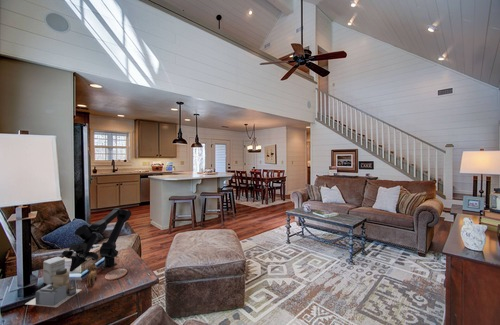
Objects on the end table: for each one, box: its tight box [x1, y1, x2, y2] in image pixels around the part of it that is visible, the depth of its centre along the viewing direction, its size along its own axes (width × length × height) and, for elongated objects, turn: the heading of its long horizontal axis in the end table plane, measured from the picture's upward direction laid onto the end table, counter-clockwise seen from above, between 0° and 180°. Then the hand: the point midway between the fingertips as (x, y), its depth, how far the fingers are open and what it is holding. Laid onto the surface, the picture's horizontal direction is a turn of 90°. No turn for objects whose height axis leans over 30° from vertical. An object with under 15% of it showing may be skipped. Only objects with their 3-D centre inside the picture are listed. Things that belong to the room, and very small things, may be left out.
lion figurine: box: [86, 262, 98, 287], centre depth 126 cm, size 15×5×9 cm, turn 37°
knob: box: [52, 267, 70, 294], centre depth 113 cm, size 4×5×12 cm
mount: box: [25, 283, 82, 308], centre depth 112 cm, size 14×17×8 cm
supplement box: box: [42, 256, 66, 285], centre depth 127 cm, size 7×7×13 cm
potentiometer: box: [67, 286, 77, 297], centre depth 114 cm, size 4×4×3 cm
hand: (70, 271), depth 118 cm, fingers closed
